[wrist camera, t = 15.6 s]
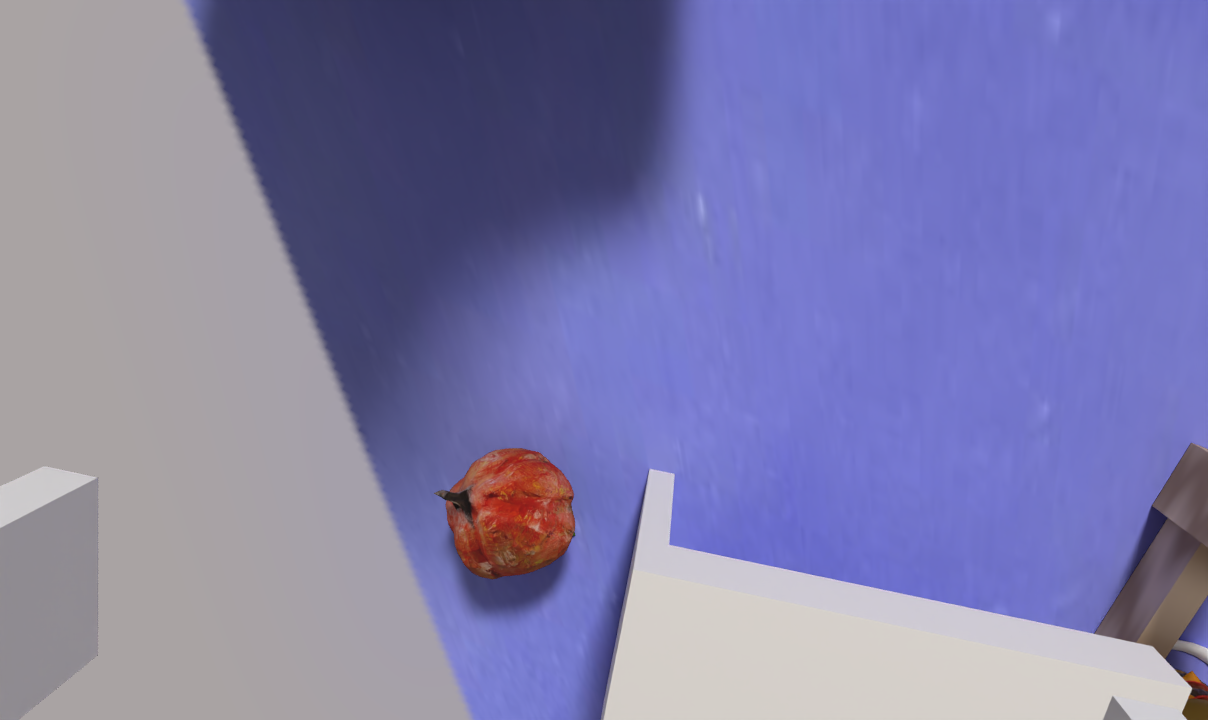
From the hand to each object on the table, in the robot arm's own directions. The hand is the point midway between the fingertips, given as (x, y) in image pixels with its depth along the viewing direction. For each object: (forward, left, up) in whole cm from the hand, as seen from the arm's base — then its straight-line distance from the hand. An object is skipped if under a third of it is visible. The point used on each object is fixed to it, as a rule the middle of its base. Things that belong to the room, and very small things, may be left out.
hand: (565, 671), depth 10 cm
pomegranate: (+14, -6, -35) cm, 38 cm away
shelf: (+19, +13, -35) cm, 42 cm away
